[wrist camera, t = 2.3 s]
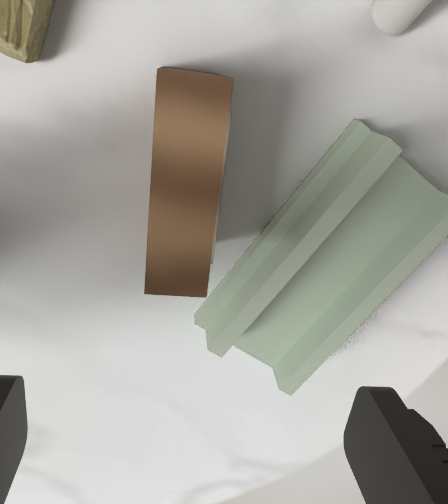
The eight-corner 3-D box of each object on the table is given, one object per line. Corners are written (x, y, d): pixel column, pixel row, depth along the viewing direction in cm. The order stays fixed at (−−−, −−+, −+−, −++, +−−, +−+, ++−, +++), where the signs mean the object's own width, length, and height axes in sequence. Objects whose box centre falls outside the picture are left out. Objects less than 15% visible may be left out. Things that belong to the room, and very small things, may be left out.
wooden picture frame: (202, 245, 38) (210, 297, 29) (151, 242, 37) (144, 294, 29) (222, 74, 32) (238, 79, 24) (161, 66, 31) (157, 69, 23)
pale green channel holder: (289, 369, 44) (300, 401, 40) (194, 314, 40) (196, 343, 36) (447, 202, 38) (480, 219, 34) (354, 119, 34) (378, 127, 30)
